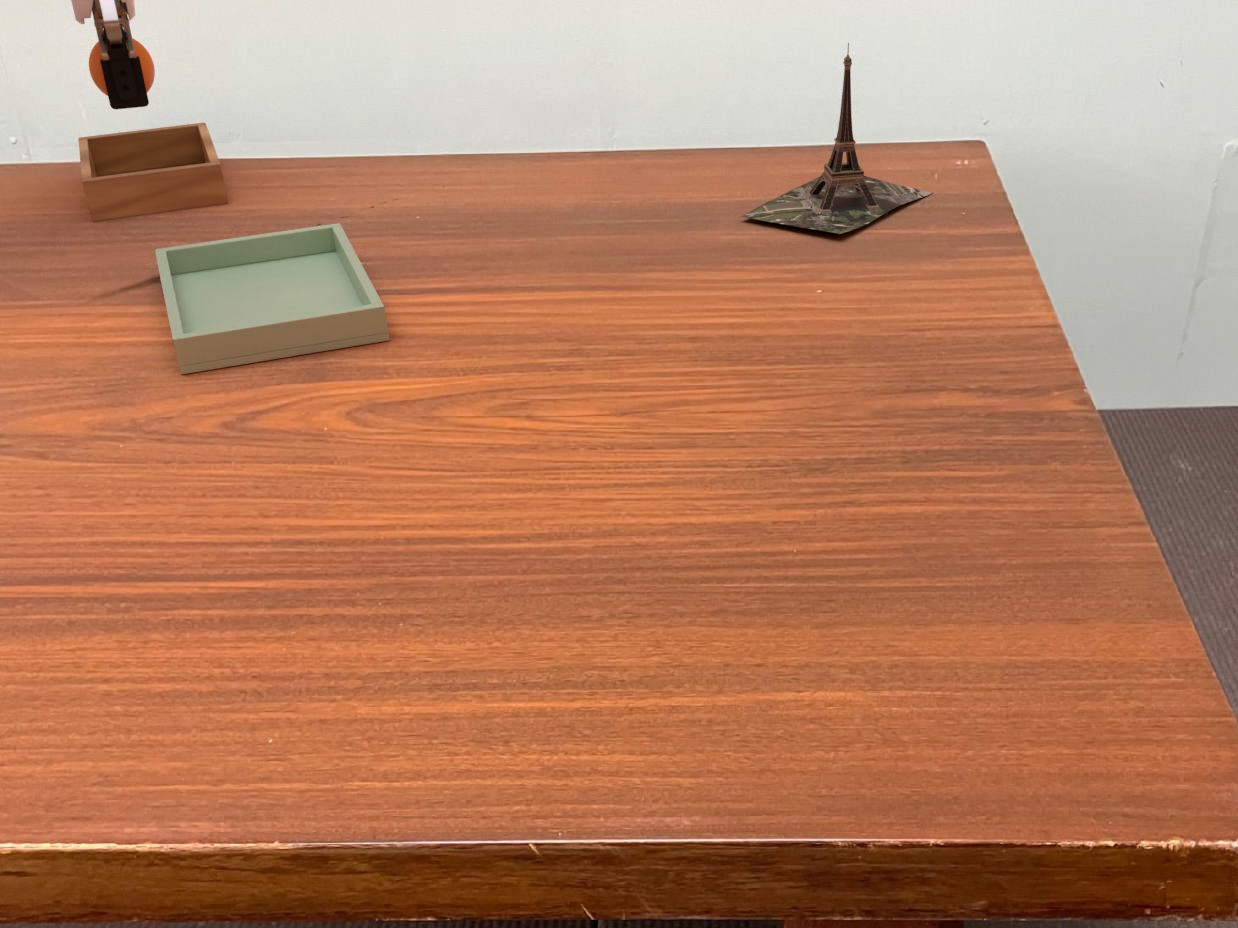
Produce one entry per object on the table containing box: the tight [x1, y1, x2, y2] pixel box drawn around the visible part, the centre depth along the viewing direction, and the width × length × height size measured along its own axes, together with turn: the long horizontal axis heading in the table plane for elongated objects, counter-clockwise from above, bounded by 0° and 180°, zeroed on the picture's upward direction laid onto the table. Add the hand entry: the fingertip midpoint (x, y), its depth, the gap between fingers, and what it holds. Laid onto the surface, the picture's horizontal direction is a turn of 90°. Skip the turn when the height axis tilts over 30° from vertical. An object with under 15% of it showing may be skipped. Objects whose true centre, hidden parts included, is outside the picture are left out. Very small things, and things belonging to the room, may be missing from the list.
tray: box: [154, 222, 390, 375], centre depth 110 cm, size 20×15×3 cm
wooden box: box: [77, 122, 229, 223], centre depth 133 cm, size 15×12×4 cm
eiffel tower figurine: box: [740, 42, 933, 235], centre depth 122 cm, size 15×10×13 cm
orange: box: [88, 37, 156, 97], centre depth 128 cm, size 5×5×6 cm
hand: (128, 96), depth 129 cm, fingers closed on orange, 5 cm apart
